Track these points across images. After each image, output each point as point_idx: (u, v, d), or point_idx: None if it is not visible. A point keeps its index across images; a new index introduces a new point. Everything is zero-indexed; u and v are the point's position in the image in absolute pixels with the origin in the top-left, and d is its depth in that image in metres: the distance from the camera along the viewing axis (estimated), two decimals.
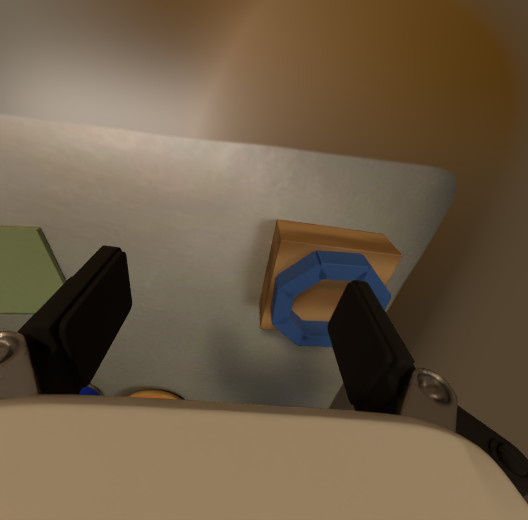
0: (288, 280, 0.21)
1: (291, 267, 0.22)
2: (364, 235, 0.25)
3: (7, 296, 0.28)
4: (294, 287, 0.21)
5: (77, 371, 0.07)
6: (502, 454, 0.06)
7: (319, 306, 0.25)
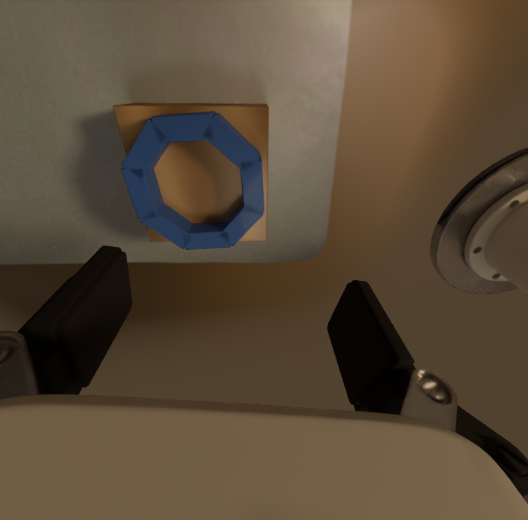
0: (228, 126, 0.17)
1: (236, 129, 0.19)
2: None
3: None
4: (221, 136, 0.17)
5: (77, 371, 0.07)
6: (502, 453, 0.06)
7: (183, 182, 0.21)
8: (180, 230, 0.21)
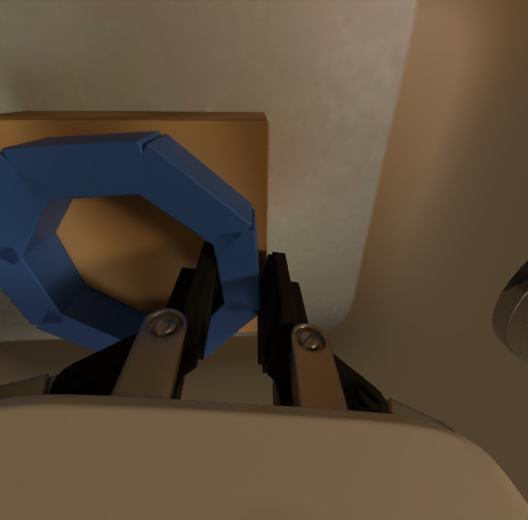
0: (181, 165, 0.08)
1: (203, 166, 0.09)
2: None
3: None
4: (168, 186, 0.08)
5: (203, 344, 0.09)
6: (360, 394, 0.07)
7: (115, 253, 0.12)
8: (111, 337, 0.12)
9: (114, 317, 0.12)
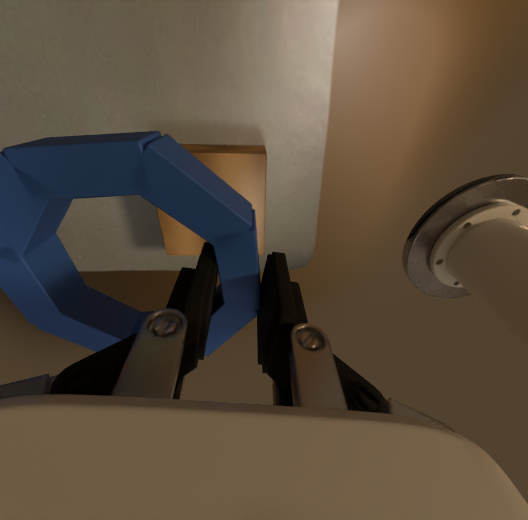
0: (181, 165, 0.08)
1: (204, 166, 0.09)
2: None
3: None
4: (168, 187, 0.08)
5: (204, 344, 0.09)
6: (360, 394, 0.07)
7: None
8: (111, 337, 0.12)
9: (114, 317, 0.12)
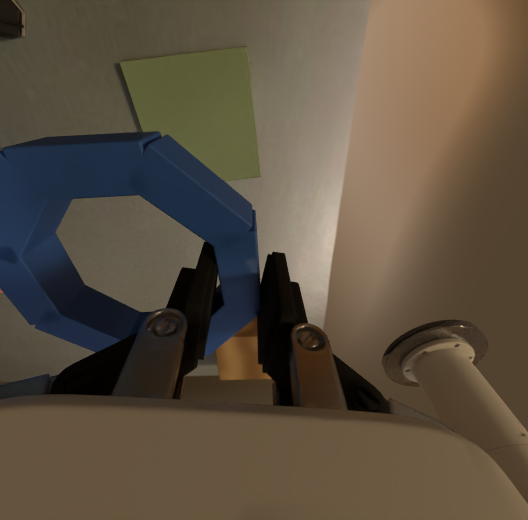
0: (182, 166, 0.08)
1: (204, 167, 0.09)
2: None
3: (164, 117, 0.24)
4: (169, 187, 0.08)
5: (204, 344, 0.09)
6: (359, 394, 0.07)
7: (242, 359, 0.40)
8: (110, 338, 0.12)
9: (113, 317, 0.12)
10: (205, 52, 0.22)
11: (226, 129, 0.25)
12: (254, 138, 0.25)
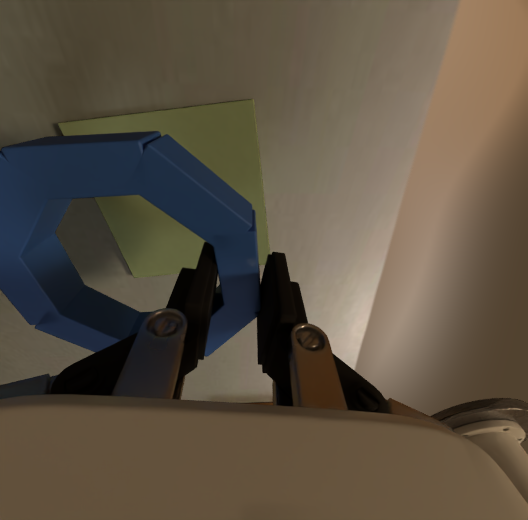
0: (182, 166, 0.08)
1: (204, 166, 0.09)
2: None
3: (133, 195, 0.16)
4: (168, 187, 0.08)
5: (204, 344, 0.09)
6: (360, 394, 0.07)
7: None
8: (110, 338, 0.12)
9: (113, 317, 0.12)
10: (189, 108, 0.14)
11: None
12: (263, 219, 0.18)
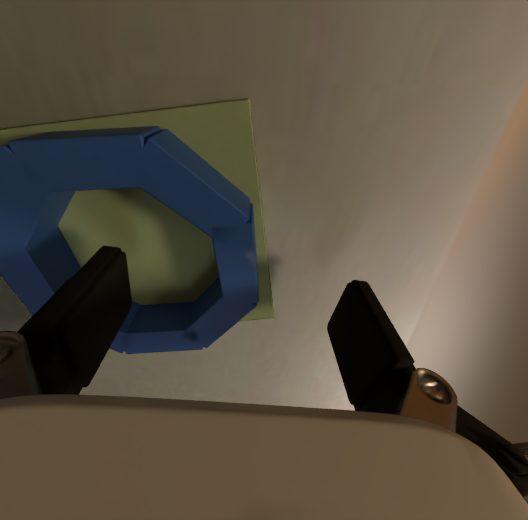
0: (181, 159, 0.08)
1: (203, 160, 0.10)
2: None
3: (77, 237, 0.12)
4: (168, 179, 0.08)
5: (77, 371, 0.07)
6: (502, 453, 0.06)
7: None
8: None
9: None
10: (149, 114, 0.09)
11: (208, 253, 0.12)
12: (264, 265, 0.13)
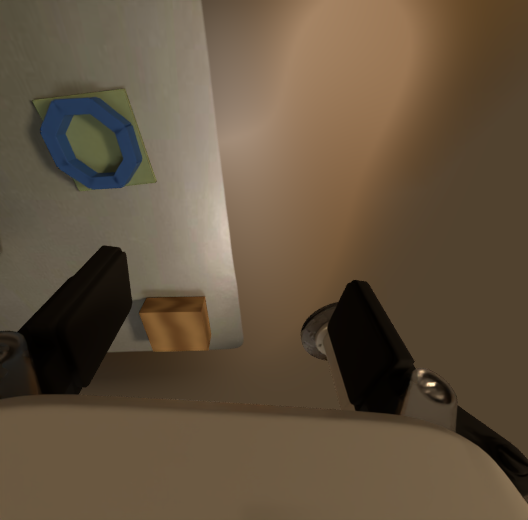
0: (101, 105, 0.29)
1: (112, 108, 0.30)
2: (209, 330, 0.53)
3: (72, 138, 0.32)
4: (98, 111, 0.29)
5: (77, 371, 0.07)
6: (502, 454, 0.06)
7: (168, 332, 0.48)
8: (85, 174, 0.33)
9: (86, 170, 0.33)
10: (93, 93, 0.30)
11: None
12: (144, 153, 0.33)
